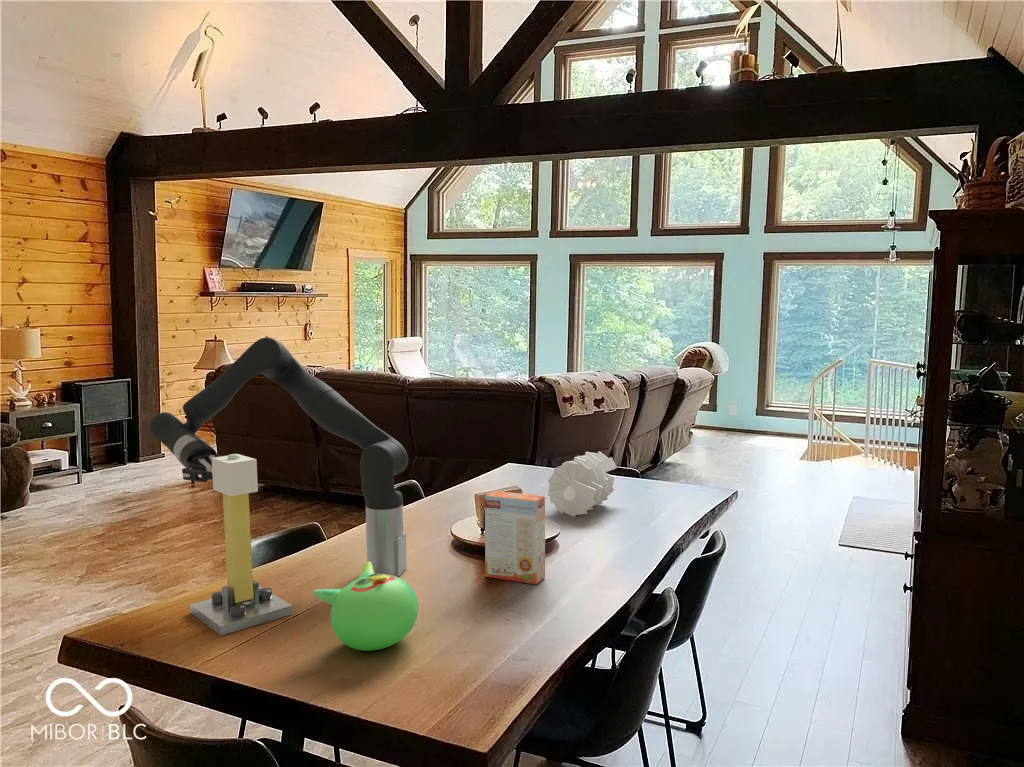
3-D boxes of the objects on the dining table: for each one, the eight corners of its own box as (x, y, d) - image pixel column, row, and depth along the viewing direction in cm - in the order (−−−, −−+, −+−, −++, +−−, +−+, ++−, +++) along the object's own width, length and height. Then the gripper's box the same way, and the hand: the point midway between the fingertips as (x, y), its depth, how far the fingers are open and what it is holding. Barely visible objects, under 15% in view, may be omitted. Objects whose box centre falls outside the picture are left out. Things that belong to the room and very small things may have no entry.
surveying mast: (219, 601, 172) (211, 454, 169) (245, 594, 177) (238, 450, 173) (236, 612, 166) (228, 459, 163) (263, 605, 170) (256, 455, 167)
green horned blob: (375, 672, 144) (373, 596, 143) (310, 651, 153) (307, 578, 152) (434, 637, 159) (433, 567, 158) (372, 619, 168) (371, 553, 167)
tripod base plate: (190, 612, 172) (189, 584, 171) (259, 594, 183) (258, 567, 182) (220, 635, 160) (219, 605, 160) (292, 614, 171) (291, 585, 170)
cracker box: (546, 577, 193) (546, 495, 191) (536, 585, 188) (536, 500, 186) (495, 569, 199) (494, 489, 197) (484, 577, 194) (484, 494, 191)
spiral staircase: (556, 529, 248) (583, 506, 270) (604, 511, 240) (628, 489, 262) (532, 476, 248) (562, 457, 271) (579, 457, 240) (605, 440, 263)
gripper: (165, 447, 185) (193, 475, 173) (219, 433, 193) (250, 458, 181) (169, 475, 188) (197, 504, 176) (222, 460, 196) (253, 487, 184)
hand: (224, 481), depth 179 cm, fingers closed
